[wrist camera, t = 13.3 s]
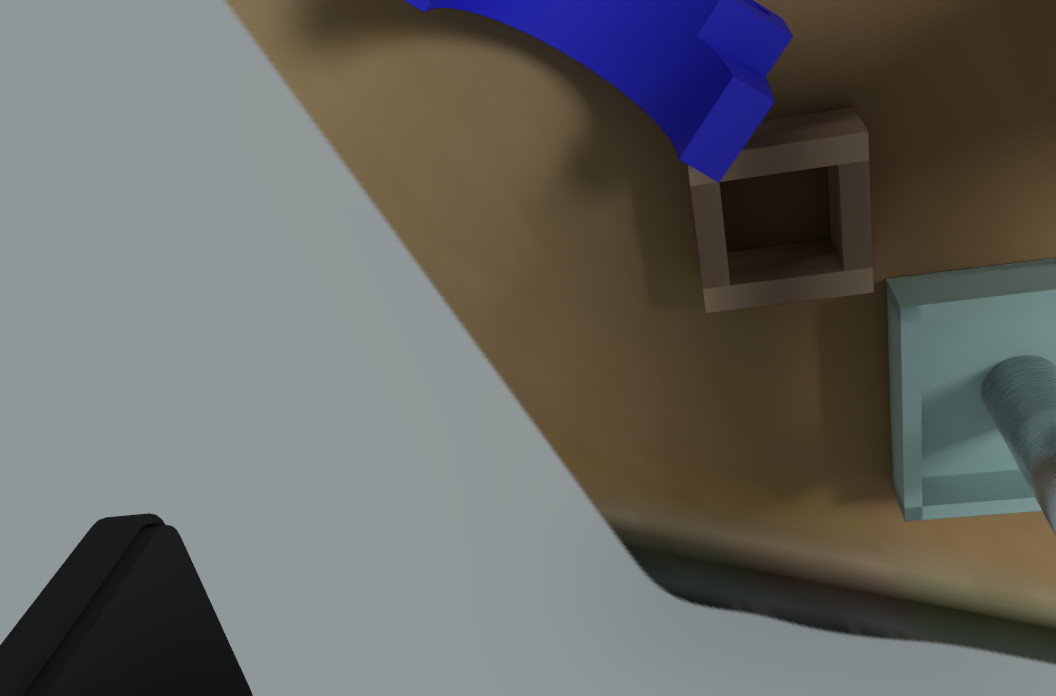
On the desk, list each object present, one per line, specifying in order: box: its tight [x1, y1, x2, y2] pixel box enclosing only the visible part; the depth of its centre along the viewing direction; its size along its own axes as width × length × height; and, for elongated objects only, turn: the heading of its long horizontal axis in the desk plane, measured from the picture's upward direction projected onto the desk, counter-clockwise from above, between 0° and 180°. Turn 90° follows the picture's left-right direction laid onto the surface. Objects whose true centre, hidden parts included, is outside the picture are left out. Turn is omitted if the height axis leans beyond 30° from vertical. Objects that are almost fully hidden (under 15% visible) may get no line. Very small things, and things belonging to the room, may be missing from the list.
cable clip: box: [404, 0, 793, 183], centre depth 32 cm, size 12×4×6 cm, turn 61°
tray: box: [887, 258, 1056, 521], centre depth 39 cm, size 10×10×2 cm
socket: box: [688, 107, 874, 313], centre depth 36 cm, size 6×6×3 cm
